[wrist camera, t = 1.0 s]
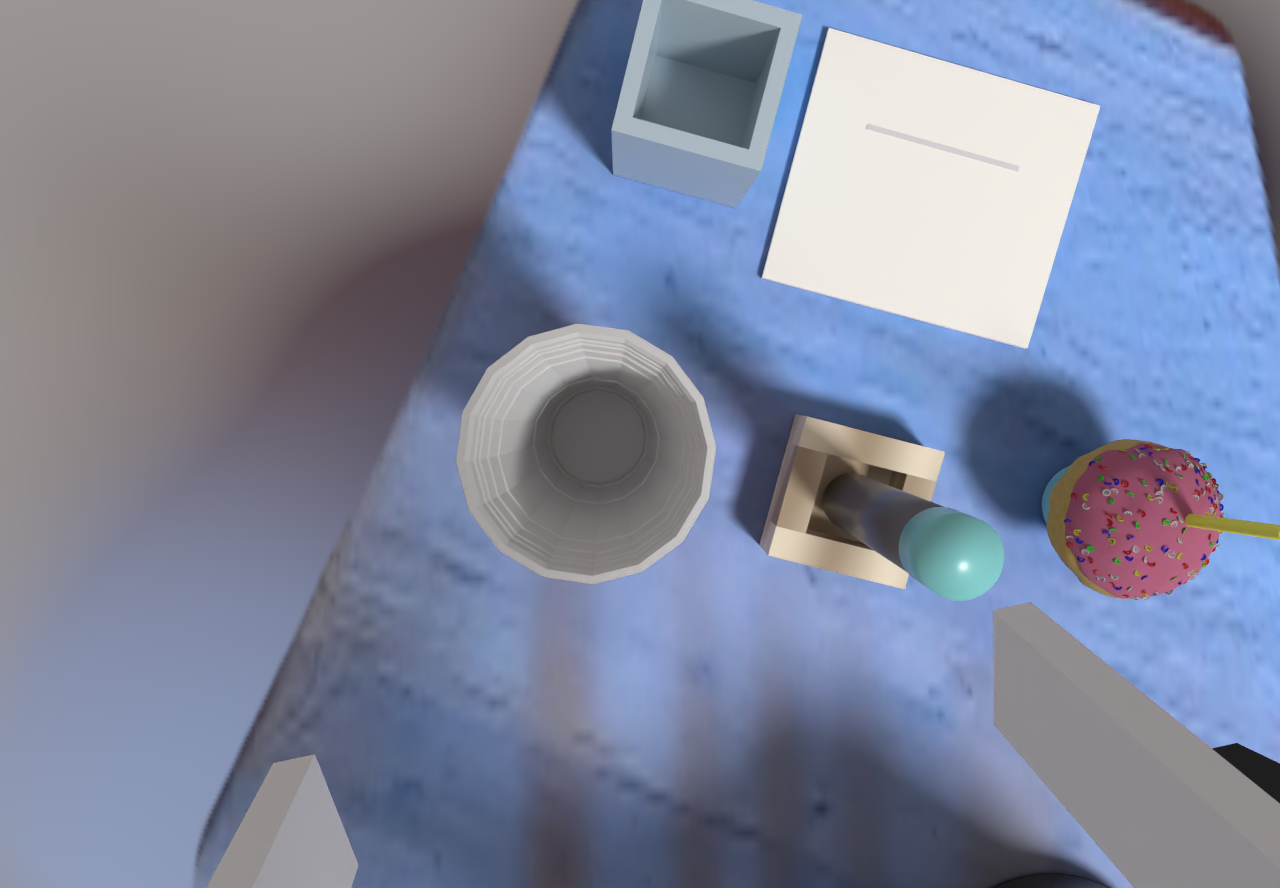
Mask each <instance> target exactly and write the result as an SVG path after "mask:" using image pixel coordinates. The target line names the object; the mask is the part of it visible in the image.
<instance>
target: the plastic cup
mask: <svg viewBox="0 0 1280 888" xmlns="http://www.w3.org/2000/svg"><path fill="white" fill-rule="evenodd" d="M715 452H716V445H715V441H714V437H713V433H712V429H711V425H710V421H709V417H708V413H707V410H706V406H705V402H704V398H703V396H702V395H701V394H700V392H699V391H698V390H697V388H696V387H695V386H694V384H693V383H692V382H691V380H690V379H689V378H688V376H687V375H686V374H685V372H684V371H683V370H682V368H681V367H680V366H679V364H678V363H677V362H676V360H675V359H674V358H673V356H671V355H669V354H667V353H666V352H664V351H662V350H661V349H659V348H657V347H655V346H654V345H652V344H650V343H649V342H647V341H645V340H644V339H642V338H640V337H638V336H637V335H635V334H633V333H632V332H630V331H628V330H621V329H614V328H607V327H599V326H592V325H585V324H574V325H570V326H566V327H562V328H559V329H555V330H551V331H547V332H544V333H540V334H536V335H532V336H529V337H527V338H526V339H524V340H523V341H522V342H520V343H519V344H518V345H517V346H515V347H514V348H513V349H511V350H510V351H509V352H507V353H506V354H505V355H504V356H502V357H501V358H500V359H498V360H497V361H496V362H494V363H493V364H492V365H491V366H489V367H488V368H487V370H486V372H485V373H484V375H483V377H482V379H481V380H480V382H479V384H478V386H477V387H476V389H475V391H474V393H473V394H472V396H471V398H470V400H469V401H468V403H467V405H466V407H465V408H464V410H463V412H462V420H461V427H460V435H459V443H458V451H457V458H456V464H457V467H458V471H459V475H460V479H461V482H462V486H463V490H464V494H465V497H466V501H467V505H468V509H469V511H470V513H471V514H472V515H473V517H474V518H475V519H476V521H477V522H478V523H479V525H480V526H481V527H482V529H483V530H484V531H485V532H486V534H487V535H488V536H489V538H490V539H491V540H492V542H493V543H494V544H495V546H496V547H497V548H498V550H499V551H500V552H502V553H504V554H505V555H507V556H509V557H510V558H512V559H514V560H515V561H517V562H519V563H521V564H522V565H524V566H526V567H527V568H529V569H531V570H532V571H534V572H536V573H537V574H539V575H541V576H542V577H547V578H554V579H561V580H568V581H575V582H581V583H588V584H596V583H600V582H604V581H608V580H612V579H616V578H620V577H624V576H628V575H632V574H636V573H640V572H643V571H644V570H645V569H647V568H648V567H649V566H651V565H652V564H654V563H655V562H656V561H658V560H659V559H660V558H662V557H663V556H664V555H666V554H667V553H668V552H670V551H671V550H672V549H674V548H675V547H676V546H678V545H679V544H680V543H682V542H683V541H684V539H685V537H686V536H687V534H688V532H689V531H690V529H691V527H692V526H693V524H694V522H695V520H696V519H697V517H698V515H699V514H700V512H701V510H702V509H703V507H704V505H705V504H706V502H707V500H708V499H709V494H710V487H711V480H712V473H713V466H714V459H715Z"/></svg>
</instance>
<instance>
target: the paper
mask: <svg viewBox="0 0 1280 888" xmlns="http://www.w3.org/2000/svg"><path fill="white" fill-rule="evenodd" d="M1099 109H1100V106H1099V105H1095V104H1092V103H1088V102H1085V101H1081V100H1078V99H1075V98H1071V97H1068V96H1064V95H1061V94H1057V93H1054V92H1050V91H1047V90H1043V89H1040V88H1036V87H1033V86H1029V85H1026V84H1022V83H1019V82H1015V81H1012V80H1009V79H1005V78H1002V77H998V76H995V75H991V74H988V73H984V72H981V71H977V70H974V69H970V68H967V67H963V66H960V65H956V64H953V63H949V62H946V61H943V60H939V59H936V58H932V57H929V56H925V55H922V54H918V53H915V52H911V51H908V50H904V49H901V48H897V47H894V46H890V45H887V44H883V43H880V42H877V41H873V40H870V39H866V38H863V37H859V36H856V35H852V34H849V33H845V32H842V31H838V30H835V29H831V28H829V29H828V30H827V34H826V38H825V41H824V45H823V49H822V53H821V56H820V60H819V64H818V68H817V71H816V75H815V79H814V83H813V86H812V90H811V94H810V98H809V101H808V105H807V109H806V113H805V116H804V120H803V124H802V127H801V131H800V135H799V139H798V142H797V146H796V150H795V154H794V157H793V161H792V165H791V169H790V172H789V176H788V180H787V184H786V187H785V191H784V195H783V199H782V202H781V206H780V210H779V213H778V217H777V221H776V225H775V228H774V232H773V236H772V240H771V243H770V247H769V251H768V255H767V258H766V262H765V266H764V270H763V273H762V277H761V278H762V279H766V280H769V281H773V282H777V283H781V284H784V285H788V286H792V287H796V288H799V289H803V290H807V291H810V292H814V293H818V294H822V295H825V296H829V297H833V298H837V299H840V300H844V301H848V302H851V303H855V304H859V305H863V306H866V307H870V308H874V309H878V310H881V311H885V312H889V313H892V314H896V315H900V316H904V317H907V318H911V319H915V320H919V321H922V322H926V323H930V324H933V325H937V326H941V327H945V328H948V329H952V330H956V331H960V332H963V333H967V334H971V335H974V336H978V337H982V338H986V339H989V340H993V341H997V342H1001V343H1004V344H1008V345H1012V346H1015V347H1019V348H1023V349H1027V348H1028V345H1029V341H1030V338H1031V335H1032V332H1033V328H1034V325H1035V322H1036V318H1037V315H1038V312H1039V308H1040V305H1041V302H1042V298H1043V295H1044V292H1045V288H1046V285H1047V282H1048V278H1049V275H1050V272H1051V268H1052V265H1053V262H1054V258H1055V255H1056V252H1057V248H1058V245H1059V242H1060V238H1061V235H1062V232H1063V229H1064V225H1065V222H1066V219H1067V215H1068V212H1069V209H1070V205H1071V202H1072V199H1073V195H1074V192H1075V189H1076V185H1077V182H1078V179H1079V175H1080V172H1081V169H1082V165H1083V162H1084V159H1085V155H1086V152H1087V149H1088V145H1089V142H1090V139H1091V135H1092V132H1093V129H1094V125H1095V122H1096V119H1097V116H1098V112H1099Z"/></svg>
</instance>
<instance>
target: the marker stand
mask: <svg viewBox="0 0 1280 888" xmlns="http://www.w3.org/2000/svg"><path fill="white" fill-rule="evenodd" d="M944 454H945V452H943V451H939V450H935V449H931V448H927V447H924V446H920V445H916V444H912V443H908V442H904V441H900V440H897V439H893V438H889V437H885V436H881V435H877V434H873V433H870V432H866V431H862V430H858V429H854V428H850V427H846V426H843V425H839V424H835V423H831V422H827V421H823V420H819V419H816V418H812V417H808V416H803V415H798V414H795V417H794V421H793V425H792V428H791V432H790V436H789V439H788V443H787V446H786V450H785V454H784V457H783V461H782V465H781V468H780V472H779V475H778V479H777V483H776V486H775V490H774V494H773V497H772V501H771V504H770V508H769V512H768V515H767V519H766V523H765V526H764V530H763V533H762V537H761V541H760V544H759V545H760V546H761V547H762V549H763V550H764V551H765V552H766V553H767V555H769V556H773V557H777V558H781V559H785V560H789V561H793V562H797V563H801V564H805V565H809V566H813V567H817V568H821V569H825V570H829V571H833V572H837V573H841V574H845V575H849V576H853V577H857V578H861V579H865V580H869V581H873V582H877V583H881V584H885V585H889V586H893V587H897V588H901V589H905V587H906V583H907V580H908V576H909V574H908V573H907V572H906V571H904V570H903V569H901V568H900V567H898V566H897V565H895V564H894V563H892V562H891V561H889V560H888V559H886V558H885V557H883V556H882V555H880V554H879V553H877V552H876V551H874V550H873V549H871V548H870V547H868V546H867V545H865V544H864V543H862V542H861V541H859V540H858V539H856V538H855V537H853V536H852V535H850V534H849V533H847V532H846V531H844V530H843V529H841V528H840V527H838V526H837V525H835V524H834V523H833V522H831V521H830V520H829V518H828V517H827V516H826V514H825V512H824V509H823V495H824V492H825V489H826V487H827V486H828V484H829V483H830V482H831V481H832V480H833V479H835V478H836V477H838V476H840V475H842V474H846V473H857V474H860V475H863V476H866V477H868V478H871V479H873V480H876V481H879V482H881V483H884V484H886V485H889V486H891V487H894V488H897V489H899V490H902V491H904V492H907V493H909V494H912V495H915V496H917V497H920V498H922V499H925V500H927V501H930V502H931V498H932V495H933V492H934V488H935V485H936V481H937V478H938V475H939V471H940V468H941V465H942V461H943V458H944Z"/></svg>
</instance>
